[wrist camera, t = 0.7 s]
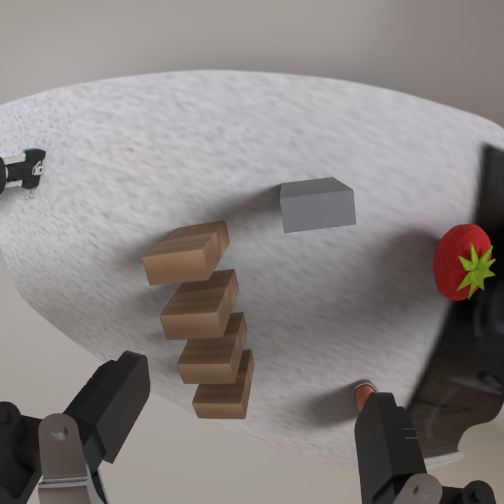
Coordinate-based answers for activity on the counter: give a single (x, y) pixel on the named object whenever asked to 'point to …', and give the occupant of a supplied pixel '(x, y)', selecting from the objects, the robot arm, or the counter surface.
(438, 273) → the strawberry
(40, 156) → the push button
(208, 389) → the walnut tile
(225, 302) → the walnut tile
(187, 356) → the walnut tile
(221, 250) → the walnut tile
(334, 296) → the counter surface
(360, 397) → the lighter
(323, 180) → the charcoal tile
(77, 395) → the robot arm
